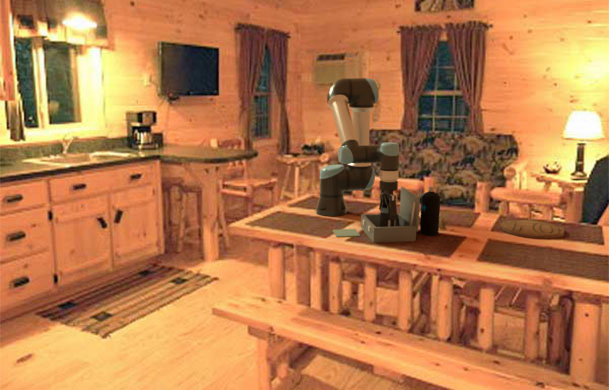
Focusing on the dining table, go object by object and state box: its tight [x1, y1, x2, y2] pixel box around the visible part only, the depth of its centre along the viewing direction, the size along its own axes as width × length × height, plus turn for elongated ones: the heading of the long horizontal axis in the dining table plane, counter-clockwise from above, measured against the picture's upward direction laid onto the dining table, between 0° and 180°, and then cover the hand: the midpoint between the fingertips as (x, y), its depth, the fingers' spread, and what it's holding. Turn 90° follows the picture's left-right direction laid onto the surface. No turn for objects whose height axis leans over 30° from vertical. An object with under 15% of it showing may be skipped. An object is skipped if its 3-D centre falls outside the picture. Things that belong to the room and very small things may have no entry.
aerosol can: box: [418, 185, 442, 237], centre depth 215 cm, size 8×8×20 cm
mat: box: [332, 228, 361, 238], centre depth 217 cm, size 10×10×1 cm
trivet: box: [500, 219, 565, 240], centre depth 220 cm, size 25×25×2 cm
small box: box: [379, 207, 389, 227], centre depth 215 cm, size 11×6×10 cm, turn 168°
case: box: [360, 186, 421, 244], centre depth 214 cm, size 22×19×18 cm
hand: (387, 231), depth 216 cm, fingers closed on small box, 11 cm apart
